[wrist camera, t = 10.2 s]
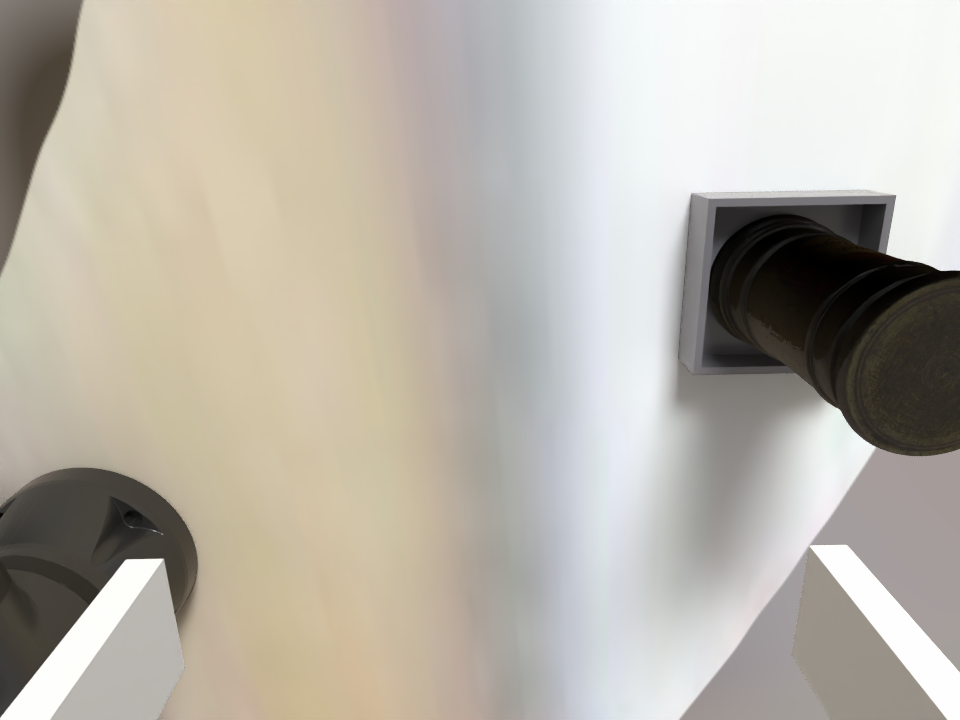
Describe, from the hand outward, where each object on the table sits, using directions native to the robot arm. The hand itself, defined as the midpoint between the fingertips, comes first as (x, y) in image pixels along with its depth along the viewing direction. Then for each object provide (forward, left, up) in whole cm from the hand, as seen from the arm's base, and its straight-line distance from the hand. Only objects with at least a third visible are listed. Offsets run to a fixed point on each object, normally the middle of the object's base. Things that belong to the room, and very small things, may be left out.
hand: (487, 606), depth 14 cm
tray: (+20, -1, -35) cm, 40 cm away
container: (+20, -1, -34) cm, 39 cm away
